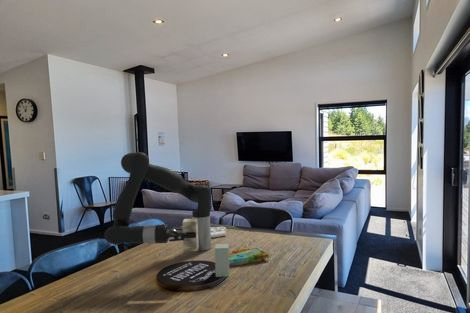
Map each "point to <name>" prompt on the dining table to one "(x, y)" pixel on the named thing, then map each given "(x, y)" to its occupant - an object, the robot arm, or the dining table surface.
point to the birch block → (190, 226)
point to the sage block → (222, 260)
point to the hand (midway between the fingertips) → (196, 232)
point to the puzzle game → (246, 256)
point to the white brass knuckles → (218, 231)
